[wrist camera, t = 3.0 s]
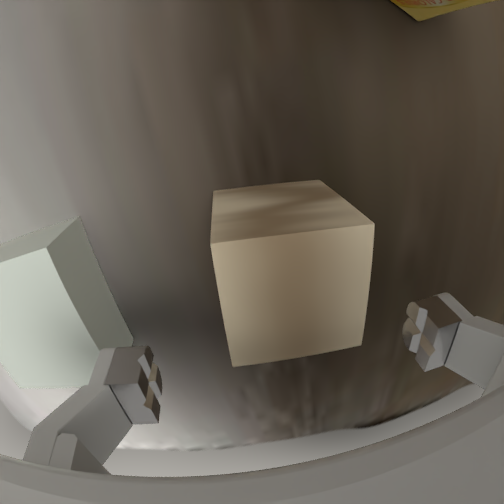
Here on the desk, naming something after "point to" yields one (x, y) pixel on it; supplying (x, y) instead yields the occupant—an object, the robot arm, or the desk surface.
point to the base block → (55, 308)
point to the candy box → (434, 7)
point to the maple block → (290, 270)
